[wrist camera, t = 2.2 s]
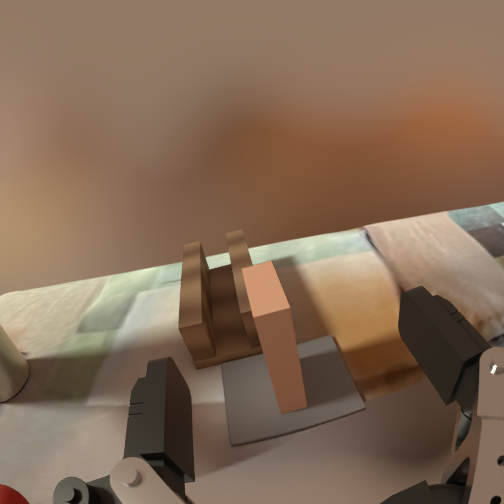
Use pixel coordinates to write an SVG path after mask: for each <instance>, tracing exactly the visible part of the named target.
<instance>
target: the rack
mask: <svg viewBox="0 0 504 504" xmlns="http://www.w3.org/2000/svg"><path fill="white" fill-rule="evenodd" d="M226 238H227V244H228V249H229V255H230V260H231V264H229V265H225V266H221V267H218V268H214V269H210V270H209V267H208V264H207V261H206V258H205V255H204V252H203V249H202V246H201V243H200V241H197V242H193V243H189V244H186V245H184V251H183V263H182V276H181V290H180V307H179V326H178V329H179V331H180V333H181V335H182V337H183V339H184V341H185V343H186V345H187V347H188V349H189V351H190V353H191V355H192V357H193V363H194V365H195V367H196V369H200V368H204V367H209V366H214V365H218V364H222V363H226V362H231V361H235V360H239V359H243V358H247V357H251V356H255V355H259V354H263V350H262V347H261V343H260V340H259V336H258V333H257V329H256V326H255V322H254V319H253V315H252V310H251V306H250V302H249V298H248V294H247V289H246V285H245V281H244V277H243V272H242V268H246V267H250V266H253V264H252V261H251V258H250V254H249V251H248V248H247V244H246V241H245V238H244V234H243V231H242V230H239V231H235V232H231V233H227V234H226Z"/></svg>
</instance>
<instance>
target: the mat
mask: <svg viewBox="0 0 504 504" xmlns="http://www.w3.org/2000/svg"><path fill="white" fill-rule="evenodd" d="M297 349H298V354H299V360H300V366H301V372H302V378H303V384H304V390H305V396H306V402H307V407H306V408H302V409H299V410H295V411H292V412H288V413H284V414H281V413H280V409H279V406H278V402H277V399H276V396H275V392H274V389H273V385H272V382H271V378H270V375H269V371H268V368H267V364H266V361H265V357H264V354H259V355H255V356H251V357H247V358H243V359H239V360H235V361H231V362H226V363H222V364H221V368H222V377H223V386H224V395H225V403H226V411H227V419H228V427H229V434H230V442H231V446H237V445H242V444H247V443H252V442H256V441H261V440H265V439H270V438H274V437H278V436H282V435H286V434H290V433H293V432H297V431H301V430H304V429H308V428H311V427H315V426H318V425H321V424H324V423H328V422H331V421H334V420H337V419H340V418H343V417H346V416H349V415H352V414H354V413H357V412H360V411H363V410H365V409H366V407H365V405H364V403H363V400H362V398H361V396H360V394H359V392H358V390H357V388H356V386H355V384H354V381H353V379H352V377H351V375H350V373H349V371H348V369H347V367H346V365H345V363H344V361H343V359H342V357H341V355H340V353H339V351H338V348H337V346H336V344H335V342H334V340H333V338H332V336H331V334H330V335H327V336H324V337H320V338H317V339H314V340H310V341H307V342H303V343H300V344H297Z"/></svg>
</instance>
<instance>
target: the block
mask: <svg viewBox="0 0 504 504" xmlns="http://www.w3.org/2000/svg"><path fill="white" fill-rule="evenodd" d="M242 272H243V277H244V281H245V285H246V289H247V294H248V298H249V302H250V306H251V310H252V315H253V319H254V322H255V326H256V329H257V333H258V336H259V340H260V343H261V347H262V350H263V354H264V357H265V361H266V364H267V368H268V371H269V375H270V378H271V382H272V385H273V389H274V392H275V396H276V399H277V402H278V406H279V409H280V413H281V414H284V413H288V412H292V411H295V410H299V409H302V408H306V407H307V402H306V396H305V390H304V384H303V378H302V372H301V366H300V360H299V354H298V349H297V343H296V337H295V331H294V326H293V320H292V315H291V309H290V306H289V303H288V301H287V298H286V296H285V293H284V291H283V288H282V286H281V283H280V281H279V278H278V276H277V273H276V271H275V268H274V266H273V263H272V261H269V262H265V263H262V264H258V265H254V266H250V267H246V268H242Z"/></svg>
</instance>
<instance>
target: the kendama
mask: <svg viewBox="0 0 504 504" xmlns="http://www.w3.org/2000/svg"><path fill="white" fill-rule="evenodd" d="M0 504H29V502H28V501H27V500H26V499H25V498H24V497H23V496H22V495H21V494H20V493H19V492H17V491H16V490H14V489H13V488H11V487H8V486H6V485H2V484H0Z"/></svg>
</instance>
